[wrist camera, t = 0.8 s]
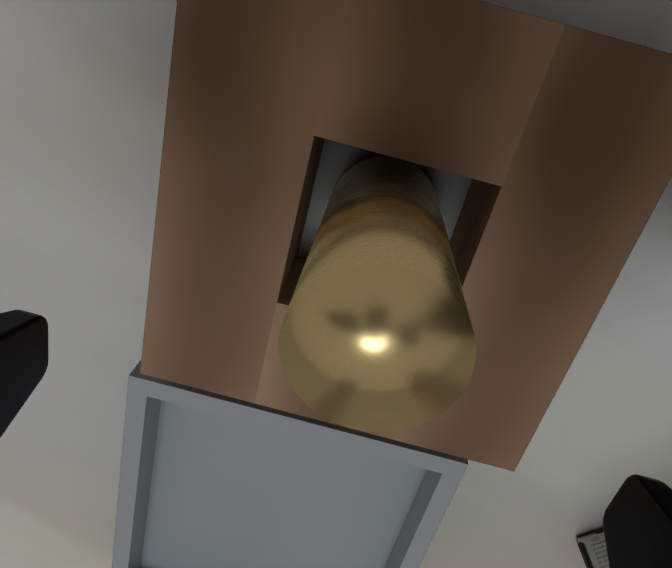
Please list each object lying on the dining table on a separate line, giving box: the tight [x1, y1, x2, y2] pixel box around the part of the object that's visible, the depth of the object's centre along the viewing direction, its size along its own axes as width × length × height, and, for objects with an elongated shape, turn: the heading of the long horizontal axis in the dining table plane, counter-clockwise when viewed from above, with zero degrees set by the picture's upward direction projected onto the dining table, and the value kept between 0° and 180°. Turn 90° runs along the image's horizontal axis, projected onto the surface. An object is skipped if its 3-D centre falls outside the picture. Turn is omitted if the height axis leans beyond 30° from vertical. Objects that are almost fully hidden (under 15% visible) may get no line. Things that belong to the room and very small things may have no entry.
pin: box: [279, 156, 476, 432], centre depth 15 cm, size 4×4×10 cm
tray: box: [112, 361, 468, 568], centre depth 26 cm, size 14×15×2 cm
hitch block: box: [140, 0, 672, 471], centre depth 18 cm, size 14×14×4 cm
